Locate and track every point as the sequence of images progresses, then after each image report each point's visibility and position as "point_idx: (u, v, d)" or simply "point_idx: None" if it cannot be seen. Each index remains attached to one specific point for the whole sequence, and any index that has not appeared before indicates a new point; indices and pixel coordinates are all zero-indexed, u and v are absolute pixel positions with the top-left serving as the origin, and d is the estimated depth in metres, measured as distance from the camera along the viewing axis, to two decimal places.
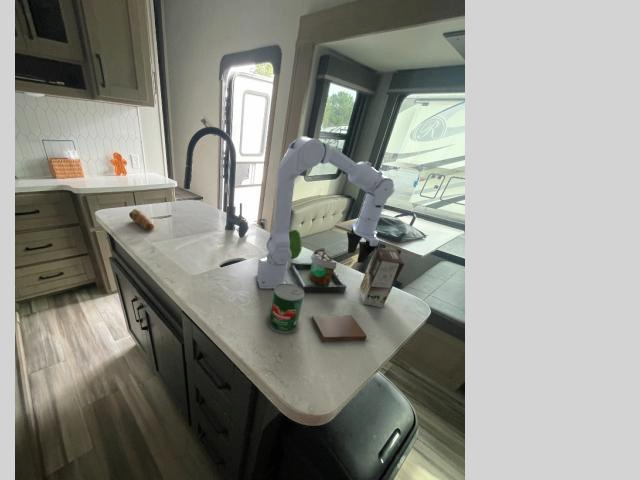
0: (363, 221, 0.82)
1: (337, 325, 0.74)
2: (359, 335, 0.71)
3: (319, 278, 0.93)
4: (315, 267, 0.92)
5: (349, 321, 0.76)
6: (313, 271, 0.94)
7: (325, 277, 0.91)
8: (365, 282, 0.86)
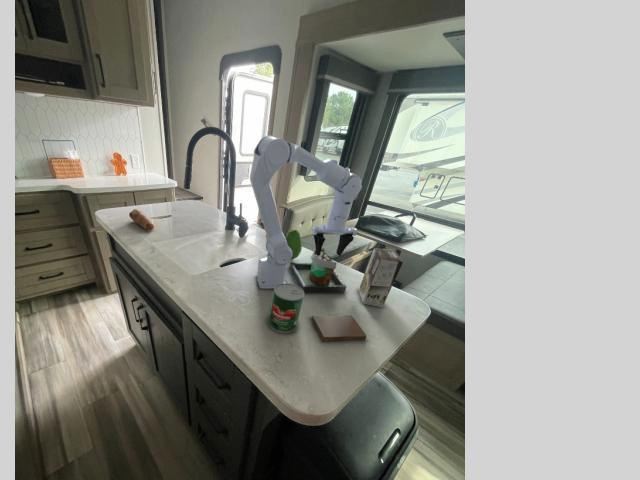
0: None
1: (337, 325, 0.74)
2: (359, 335, 0.71)
3: (319, 278, 0.93)
4: (315, 267, 0.92)
5: (349, 321, 0.76)
6: (313, 271, 0.94)
7: (325, 277, 0.91)
8: (365, 282, 0.87)
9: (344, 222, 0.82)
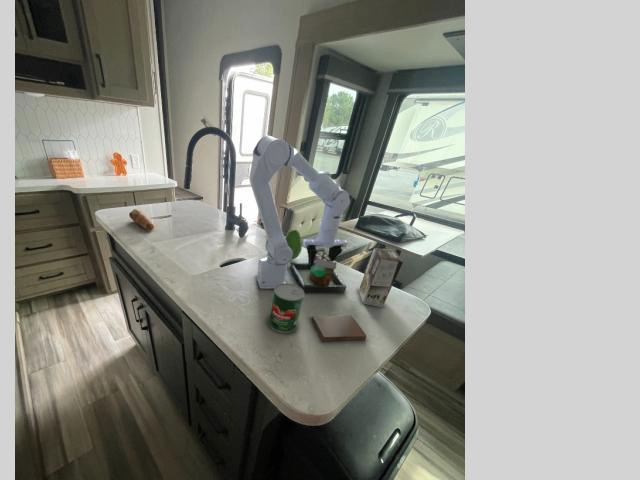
0: None
1: (337, 325, 0.74)
2: (359, 335, 0.71)
3: (319, 278, 0.93)
4: (315, 267, 0.92)
5: (349, 321, 0.76)
6: (313, 271, 0.94)
7: (325, 277, 0.91)
8: (365, 282, 0.87)
9: (333, 235, 0.85)
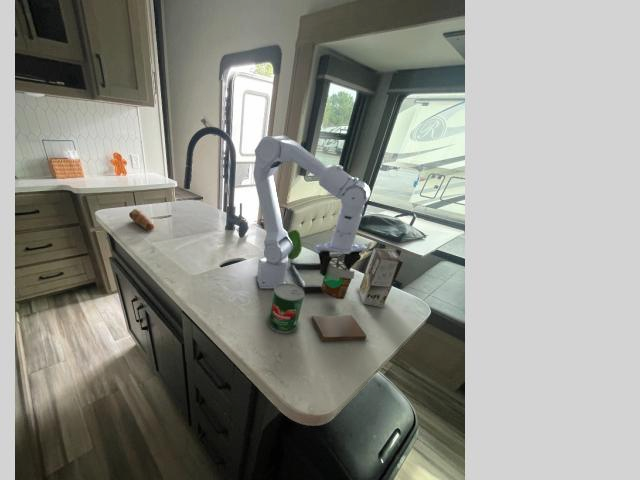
0: None
1: (337, 325, 0.74)
2: (359, 335, 0.71)
3: (333, 289, 0.80)
4: (328, 276, 0.79)
5: (349, 321, 0.76)
6: (326, 281, 0.80)
7: (340, 288, 0.78)
8: (365, 282, 0.87)
9: (352, 239, 0.72)
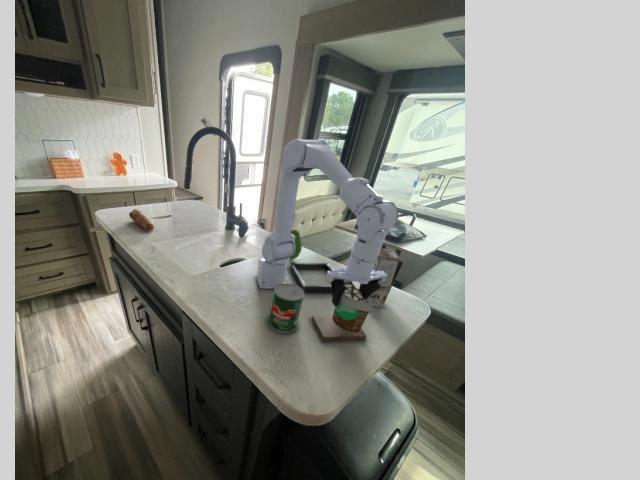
0: None
1: None
2: (359, 335, 0.71)
3: (346, 322, 0.69)
4: (341, 307, 0.68)
5: None
6: (339, 311, 0.70)
7: (356, 321, 0.67)
8: None
9: (371, 267, 0.61)
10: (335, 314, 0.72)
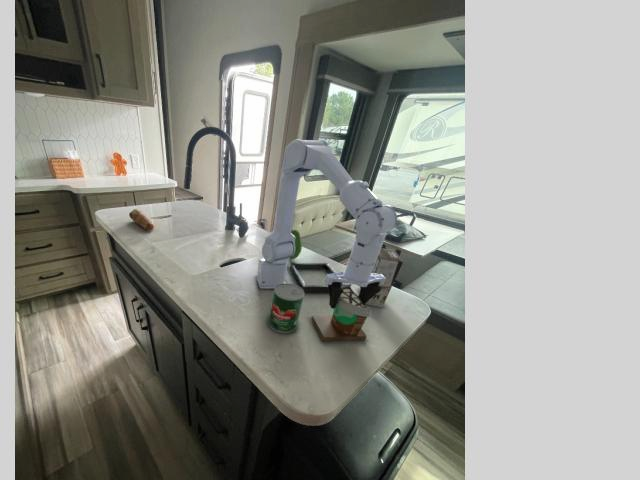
0: None
1: None
2: (359, 335, 0.71)
3: (345, 326, 0.70)
4: (340, 312, 0.69)
5: None
6: (337, 316, 0.70)
7: (354, 326, 0.68)
8: None
9: (369, 270, 0.61)
10: (334, 318, 0.72)
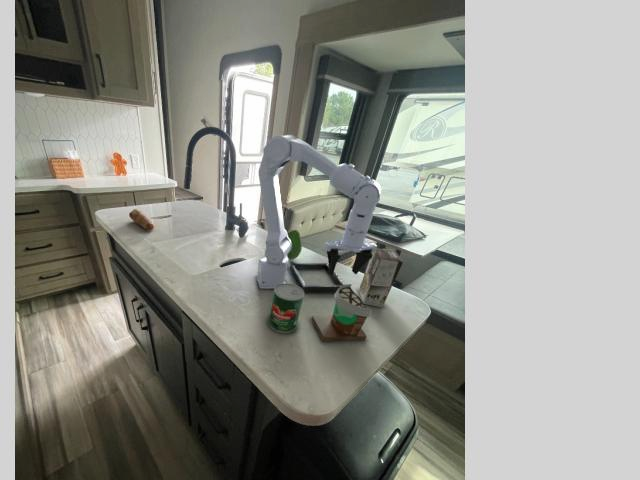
0: None
1: None
2: (359, 335, 0.71)
3: (345, 326, 0.70)
4: (340, 312, 0.69)
5: None
6: (337, 316, 0.70)
7: (354, 326, 0.68)
8: (365, 282, 0.87)
9: (362, 238, 0.72)
10: (334, 318, 0.72)
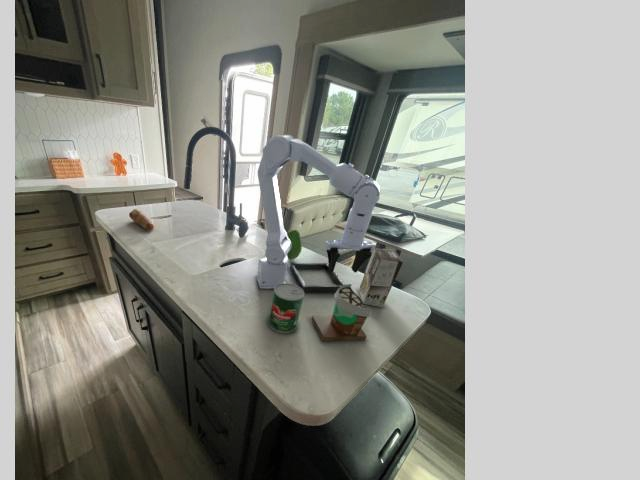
0: None
1: None
2: (359, 335, 0.71)
3: (345, 326, 0.70)
4: (340, 312, 0.69)
5: None
6: (337, 316, 0.70)
7: (354, 326, 0.68)
8: (365, 282, 0.87)
9: (362, 236, 0.73)
10: (334, 318, 0.72)
